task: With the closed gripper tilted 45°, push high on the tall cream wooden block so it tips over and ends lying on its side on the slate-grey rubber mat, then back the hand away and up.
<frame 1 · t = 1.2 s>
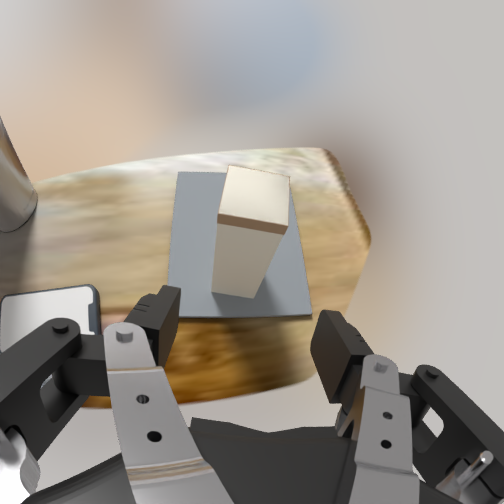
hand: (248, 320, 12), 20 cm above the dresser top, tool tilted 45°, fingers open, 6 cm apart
rubber mat: (236, 236, 38), on the dresser top
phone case: (47, 326, 28), on the dresser top
cream block: (235, 276, 34), point 1 cm above the dresser top, touching rubber mat
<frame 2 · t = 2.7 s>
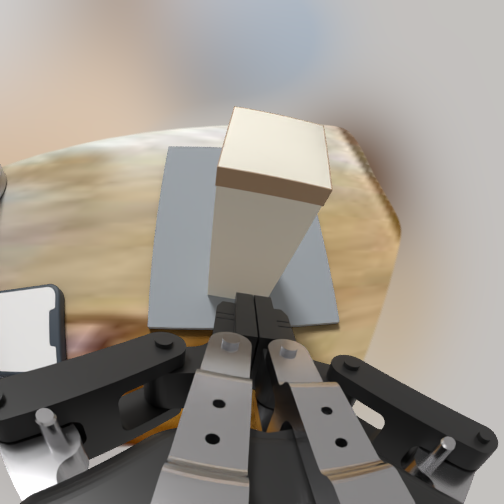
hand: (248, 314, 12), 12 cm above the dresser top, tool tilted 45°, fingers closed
rubber mat: (240, 222, 30), on the dresser top
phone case: (6, 335, 20), on the dresser top
cream block: (239, 273, 26), point 1 cm above the dresser top, touching rubber mat
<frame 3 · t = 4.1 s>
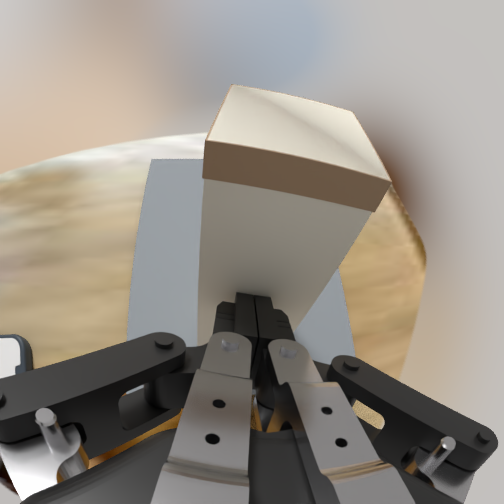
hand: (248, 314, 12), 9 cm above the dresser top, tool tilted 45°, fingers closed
rubber mat: (238, 257, 24), on the dresser top
cream block: (237, 325, 20), point 1 cm above the dresser top, tilted 10°, touching gripper, rubber mat
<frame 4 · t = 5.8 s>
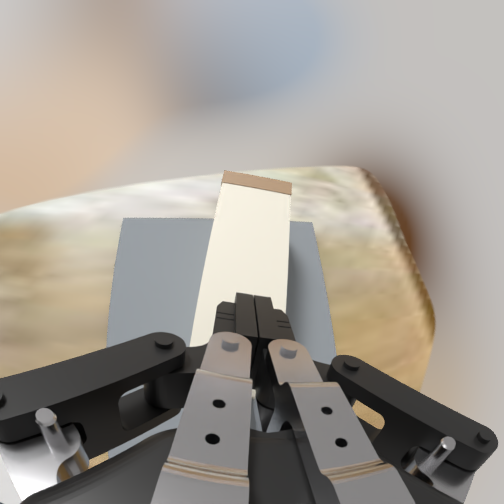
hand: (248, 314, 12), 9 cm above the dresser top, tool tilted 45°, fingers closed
rubber mat: (222, 349, 20), on the dresser top
cream block: (227, 395, 16), point 3 cm above the dresser top, tilted 90°, touching rubber mat
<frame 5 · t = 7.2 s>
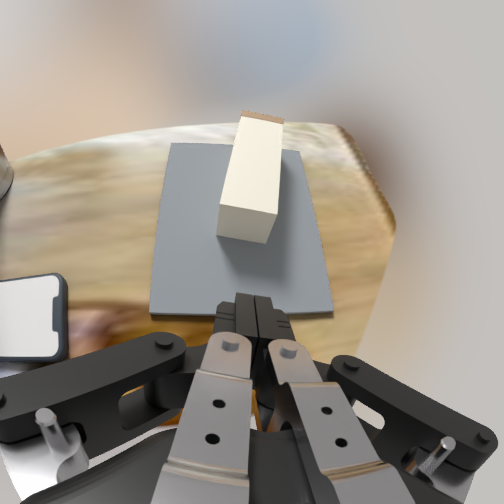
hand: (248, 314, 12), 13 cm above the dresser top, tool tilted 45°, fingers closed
rubber mat: (239, 215, 31), on the dresser top
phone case: (10, 322, 21), on the dresser top
cream block: (244, 225, 26), point 3 cm above the dresser top, tilted 90°, touching rubber mat
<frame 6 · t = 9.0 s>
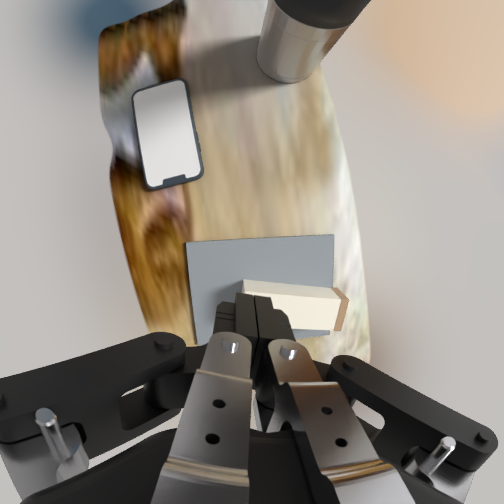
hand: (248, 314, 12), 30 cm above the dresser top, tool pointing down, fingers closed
rubber mat: (263, 292, 44), on the dresser top
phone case: (167, 133, 38), on the dresser top
cream block: (241, 301, 41), point 3 cm above the dresser top, tilted 90°, touching rubber mat
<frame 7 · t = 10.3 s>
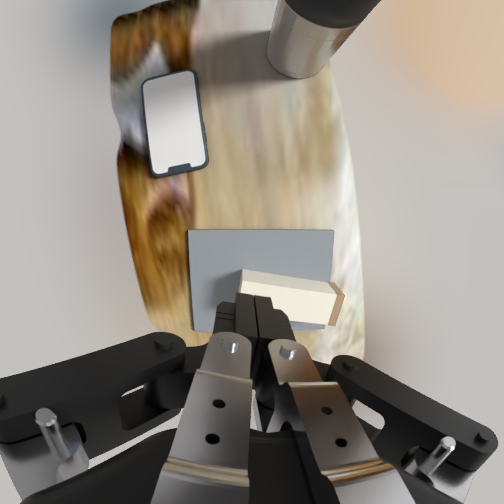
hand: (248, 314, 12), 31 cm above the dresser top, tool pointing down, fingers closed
rubber mat: (261, 282, 45), on the dresser top
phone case: (174, 122, 39), on the dresser top
cream block: (239, 290, 42), point 3 cm above the dresser top, tilted 90°, touching rubber mat
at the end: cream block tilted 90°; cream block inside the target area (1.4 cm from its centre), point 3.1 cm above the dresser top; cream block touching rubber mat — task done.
